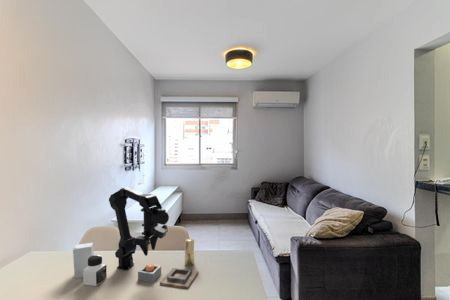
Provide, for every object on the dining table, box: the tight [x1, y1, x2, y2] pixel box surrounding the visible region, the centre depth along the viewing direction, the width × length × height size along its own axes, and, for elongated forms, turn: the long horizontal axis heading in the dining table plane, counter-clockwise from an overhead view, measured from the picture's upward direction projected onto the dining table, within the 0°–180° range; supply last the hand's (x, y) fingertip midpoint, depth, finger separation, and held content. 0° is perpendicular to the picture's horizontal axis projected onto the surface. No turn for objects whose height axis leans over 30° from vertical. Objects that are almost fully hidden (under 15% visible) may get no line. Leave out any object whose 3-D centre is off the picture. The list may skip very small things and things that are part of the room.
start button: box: [145, 263, 155, 272], centre depth 122 cm, size 4×4×3 cm
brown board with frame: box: [159, 267, 199, 290], centre depth 121 cm, size 14×14×2 cm
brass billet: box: [184, 238, 195, 267], centre depth 135 cm, size 5×5×13 cm
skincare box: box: [72, 242, 94, 279], centre depth 124 cm, size 8×6×15 cm
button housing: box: [137, 263, 162, 283], centre depth 122 cm, size 8×8×4 cm
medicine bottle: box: [82, 254, 107, 287], centre depth 118 cm, size 7×7×12 cm
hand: (149, 252), depth 122 cm, fingers open, 6 cm apart
